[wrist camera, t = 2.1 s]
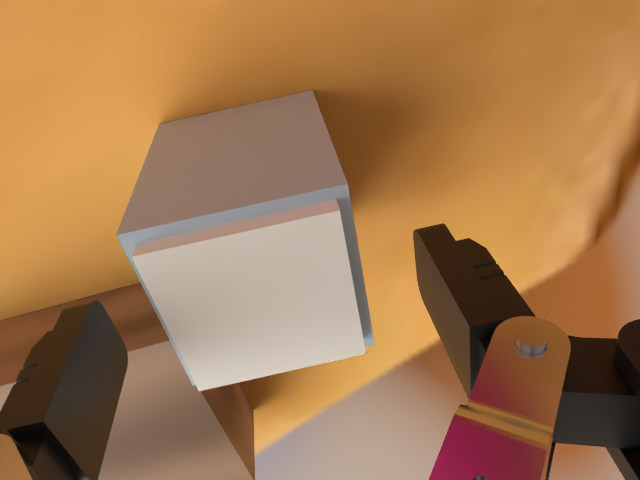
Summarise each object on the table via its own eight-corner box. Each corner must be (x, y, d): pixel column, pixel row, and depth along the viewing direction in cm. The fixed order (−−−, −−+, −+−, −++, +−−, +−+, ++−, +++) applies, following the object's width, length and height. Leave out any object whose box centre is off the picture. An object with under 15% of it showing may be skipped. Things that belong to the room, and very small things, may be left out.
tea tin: (159, 123, 16) (111, 248, 10) (312, 89, 16) (352, 194, 10) (207, 247, 19) (191, 401, 13) (336, 219, 19) (378, 358, 13)
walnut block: (-37, 326, 20) (-93, 411, 16) (182, 266, 19) (170, 340, 16) (79, 451, 25) (54, 534, 21) (253, 404, 24) (254, 482, 21)
